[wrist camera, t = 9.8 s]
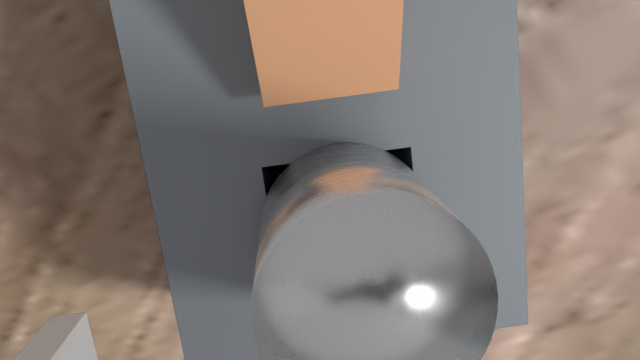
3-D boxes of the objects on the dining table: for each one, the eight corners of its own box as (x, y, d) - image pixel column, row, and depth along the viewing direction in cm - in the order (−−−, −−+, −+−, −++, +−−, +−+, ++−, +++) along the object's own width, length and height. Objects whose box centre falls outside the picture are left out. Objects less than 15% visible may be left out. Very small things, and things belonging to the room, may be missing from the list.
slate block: (472, 259, 26) (528, 324, 20) (209, 296, 25) (188, 374, 19) (441, -248, 20) (504, -360, 15) (112, -210, 20) (43, -310, 14)
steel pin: (402, 234, 25) (503, 402, 13) (275, 252, 25) (270, 437, 13) (390, 108, 23) (492, 176, 12) (256, 126, 23) (231, 213, 12)
